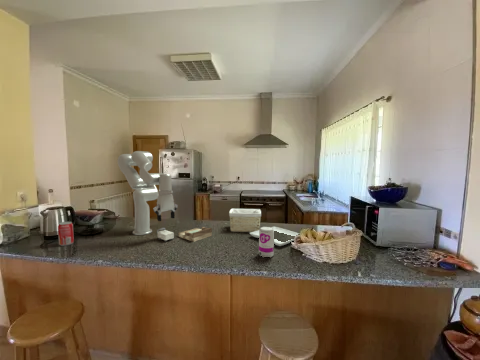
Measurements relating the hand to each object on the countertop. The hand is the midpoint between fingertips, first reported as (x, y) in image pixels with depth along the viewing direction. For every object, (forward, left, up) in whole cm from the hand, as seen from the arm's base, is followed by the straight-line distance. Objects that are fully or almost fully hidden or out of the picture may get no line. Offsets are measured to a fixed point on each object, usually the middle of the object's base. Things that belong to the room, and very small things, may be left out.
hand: (166, 219), depth 144 cm
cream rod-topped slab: (-1, 0, -13) cm, 13 cm away
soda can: (-38, -43, -14) cm, 59 cm away
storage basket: (+25, +52, -14) cm, 60 cm away
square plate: (+53, +50, -14) cm, 74 cm away
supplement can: (+62, +21, -14) cm, 67 cm away
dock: (+8, +17, -13) cm, 23 cm away
